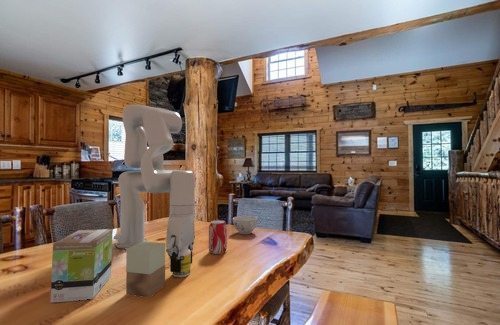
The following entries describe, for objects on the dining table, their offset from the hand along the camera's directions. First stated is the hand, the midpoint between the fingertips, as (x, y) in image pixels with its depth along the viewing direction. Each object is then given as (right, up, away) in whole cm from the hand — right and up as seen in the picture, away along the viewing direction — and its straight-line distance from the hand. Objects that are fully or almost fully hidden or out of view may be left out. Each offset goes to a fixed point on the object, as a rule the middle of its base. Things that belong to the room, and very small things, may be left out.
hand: (181, 267), depth 83 cm
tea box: (-24, -2, -10) cm, 26 cm away
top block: (-7, +4, -11) cm, 13 cm away
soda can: (+9, -3, +21) cm, 23 cm away
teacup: (+19, -3, +51) cm, 54 cm away
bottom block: (-7, -2, -11) cm, 13 cm away
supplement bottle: (0, -2, 0) cm, 2 cm away
